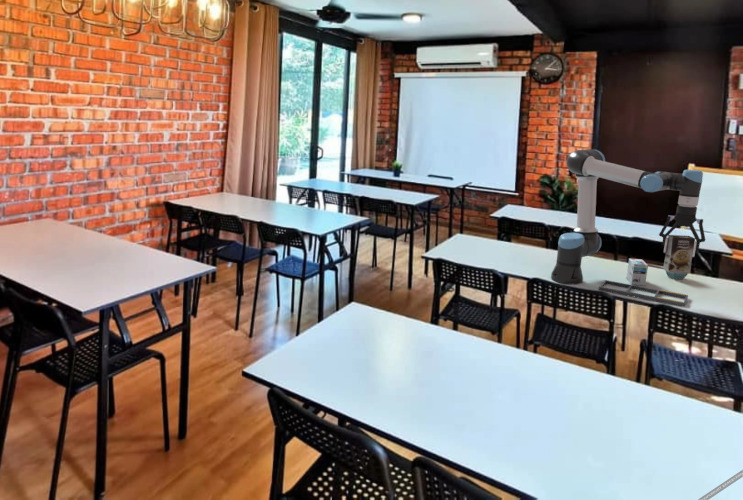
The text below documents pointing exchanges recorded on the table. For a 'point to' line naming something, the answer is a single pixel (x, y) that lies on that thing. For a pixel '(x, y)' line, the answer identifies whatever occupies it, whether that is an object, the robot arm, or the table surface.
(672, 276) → the flower pot
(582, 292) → the table surface
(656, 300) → the gray sectioned tray
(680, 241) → the brown cardboard box
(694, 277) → the table surface
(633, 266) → the light bulb box
